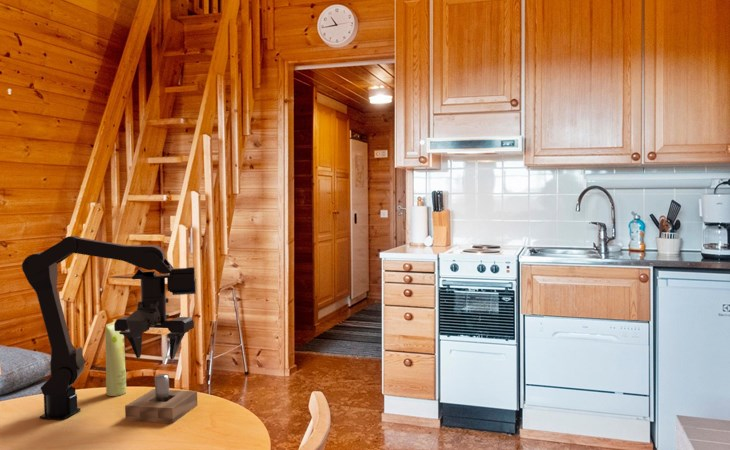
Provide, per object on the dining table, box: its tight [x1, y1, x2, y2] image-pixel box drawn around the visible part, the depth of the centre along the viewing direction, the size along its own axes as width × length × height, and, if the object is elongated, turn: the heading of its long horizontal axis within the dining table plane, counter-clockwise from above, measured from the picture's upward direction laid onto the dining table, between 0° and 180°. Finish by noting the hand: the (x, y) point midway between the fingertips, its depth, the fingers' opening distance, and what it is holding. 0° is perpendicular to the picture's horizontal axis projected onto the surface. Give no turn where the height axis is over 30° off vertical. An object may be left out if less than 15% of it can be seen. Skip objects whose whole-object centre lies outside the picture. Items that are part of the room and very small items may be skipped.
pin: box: [154, 373, 170, 402], centre depth 138 cm, size 3×3×8 cm
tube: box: [105, 321, 127, 397], centre depth 153 cm, size 6×5×20 cm
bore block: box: [124, 388, 198, 424], centre depth 139 cm, size 12×12×4 cm
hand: (155, 358), depth 143 cm, fingers open, 9 cm apart
